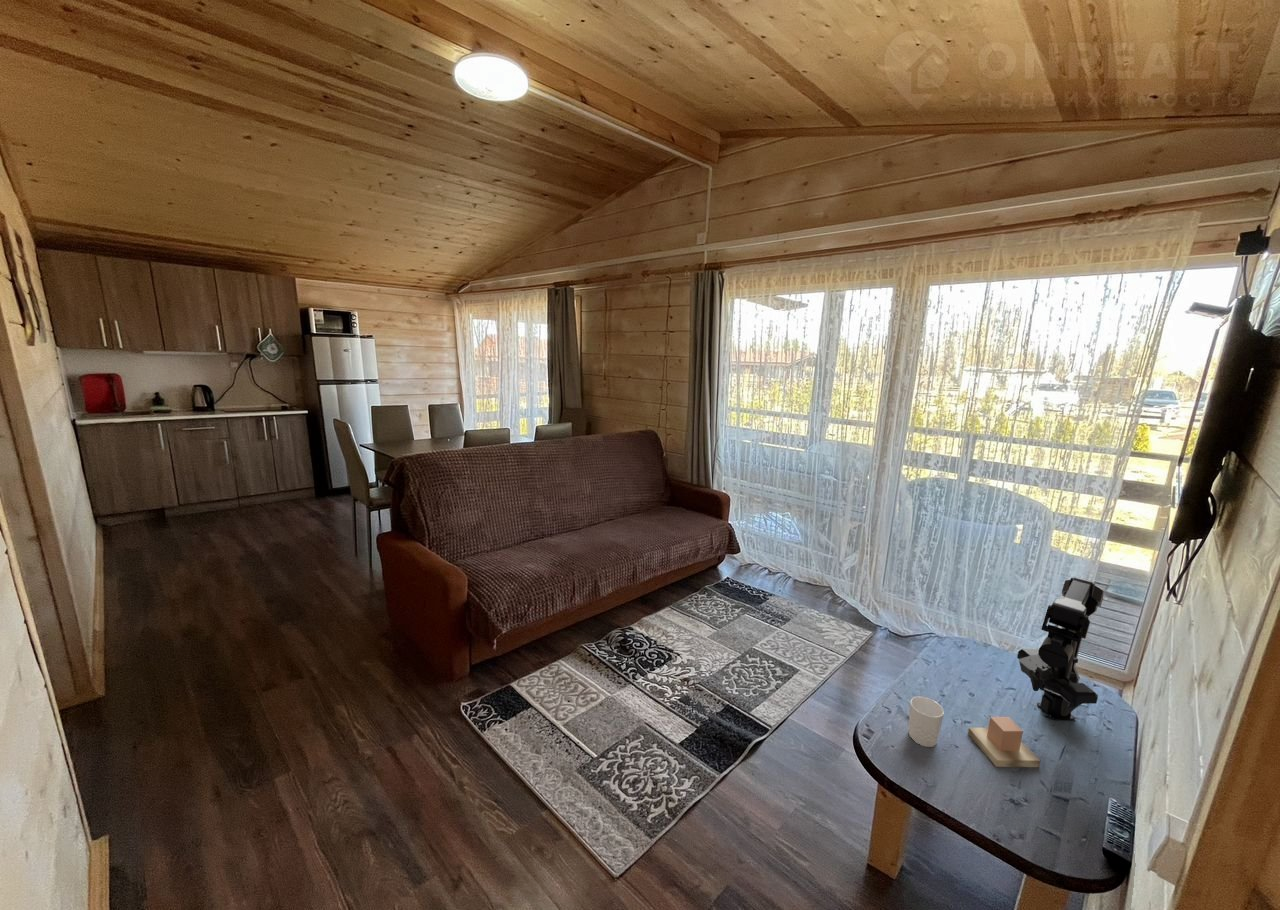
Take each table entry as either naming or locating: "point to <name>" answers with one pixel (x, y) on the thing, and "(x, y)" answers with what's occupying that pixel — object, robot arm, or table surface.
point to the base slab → (1003, 757)
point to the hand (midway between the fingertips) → (1049, 702)
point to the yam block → (1004, 734)
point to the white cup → (925, 721)
